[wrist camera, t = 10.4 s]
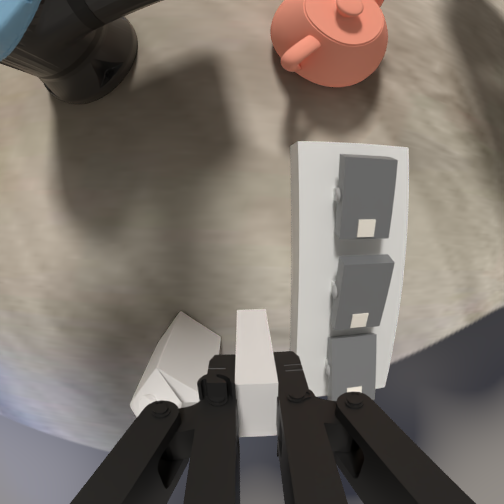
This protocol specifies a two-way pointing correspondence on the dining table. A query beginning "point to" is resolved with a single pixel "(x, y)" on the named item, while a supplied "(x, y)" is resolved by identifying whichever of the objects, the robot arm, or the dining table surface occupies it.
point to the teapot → (330, 39)
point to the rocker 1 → (365, 196)
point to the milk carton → (177, 365)
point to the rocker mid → (360, 291)
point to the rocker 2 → (351, 364)
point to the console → (337, 254)
